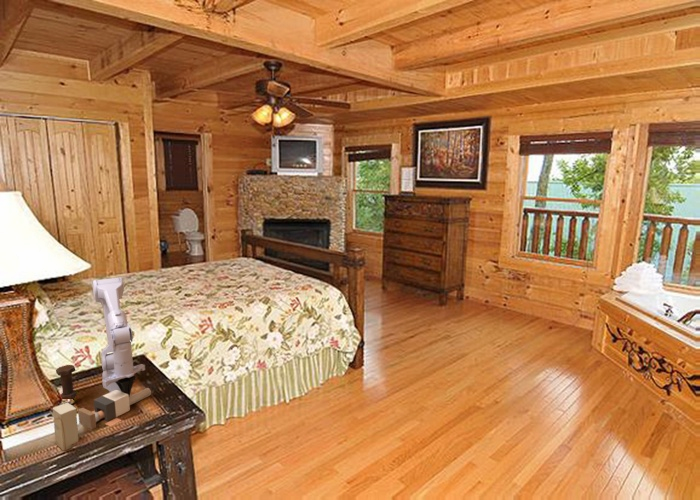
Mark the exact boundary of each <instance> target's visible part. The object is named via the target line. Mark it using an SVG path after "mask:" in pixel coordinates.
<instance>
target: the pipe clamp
mask: <svg viewBox="0 0 700 500" xmlns="http://www.w3.org/2000/svg"><path fill="white" fill-rule="evenodd" d="M150 396H152V390H151V389H150V388H149V387H146V388H144V389H142V390H140V391H137V392H136V393H134V394H130V397H129V405H130V406H132V405H134V404H135V403H137V402H140V401H142V400H143V399H144V400H145V399H146V398H148V397H150ZM77 413H78V415H77V417H78V423H79V424H80V425H81V426H83V427H85V428H88V429H90V430H91V431H92V430H94V429H96V428H97V423H98V422H99V421H101V420H102V419H105V414H104V411H103V410H101V411H99V412H95V410H92V411H90V410H89V409H86V408H84V407H81V408H79V409H77ZM122 421H123V420H122V419H120V418H118V417H115V418H114V419H112V420H110V421H108V422H107V421H106V422H105V423H104V424H105V425H106V426H109V427H112V426H114V425H116V424H118V423H120V422H122Z"/></svg>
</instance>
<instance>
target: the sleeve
mask: <svg viewBox="0 0 700 500" xmlns="http://www.w3.org/2000/svg"><path fill="white" fill-rule="evenodd" d="M102 396H104V397H106V398H108V399H111V400H113V401H115V410H116V417H115V418H118V417H119V416H121V415H123V414H126V413H127V412H129V411H130V410H131V405H129V395H128V394H126V393H124V392H121V391H119V390H114V391H112V392H108V393H105V394H103V395H102Z"/></svg>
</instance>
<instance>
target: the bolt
mask: <svg viewBox="0 0 700 500" xmlns="http://www.w3.org/2000/svg"><path fill="white" fill-rule="evenodd" d="M74 372H76V367H75V365H73V364H65V365H62V366H59V367H57V368H56V369H55V374H57V376H60V381H61V389H62V392H61V394H60V395H61V397H62V399H73V400H74V401H75V398H76V397H77V395H78V394H77V392H76V390H74V385H73V384H74V383H73V373H74Z"/></svg>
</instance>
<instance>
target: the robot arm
mask: <svg viewBox="0 0 700 500" xmlns="http://www.w3.org/2000/svg"><path fill="white" fill-rule="evenodd" d="M124 285H125V282H124V280H123V278H122V277H121V276H119V277H113V278H112V277H111V278H103V279H93V281H92V291H93V299H94V301H95V302H96V303H99V304H101V307H102V310H103V319H104V326H105V331H106V332H105V333H106V338H107V345H106V346H105V347H104V348H103V349H102V350H101V352H100V361H101V362H100V363H101V367H102V371H103V372H102V374H101V375H102V376H101V377H102V381H101V382H102V386H103V387H102V388H103V389H104V390H105V389H106V390H108V393H110V392H112V391H114V390H119V391H121V392H124V393H126V394H128V395H129V397H130V396H131V391H132V387H133V384H134V383H135V381H136V375H135V374H136V373H139V372H141V371H142V372H143V371H145V370H146V364H142V363H140V364H137V365H134V361H133V348H132V343H133V340H134V339H133V338H134V335H133V330H132V327H131V325H130V323H129V322H128V318H127V315H126V311H124V310H122V309H121V304H120V303H121V302H120V300H121V299H122V298H123V295H124V291H125V286H124Z"/></svg>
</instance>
